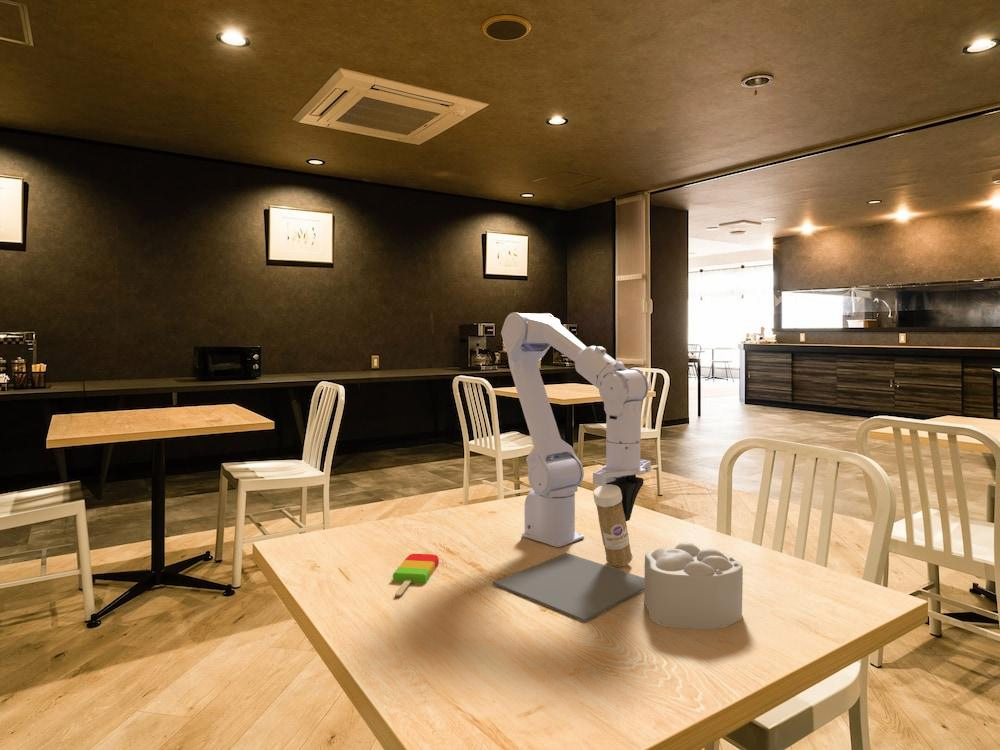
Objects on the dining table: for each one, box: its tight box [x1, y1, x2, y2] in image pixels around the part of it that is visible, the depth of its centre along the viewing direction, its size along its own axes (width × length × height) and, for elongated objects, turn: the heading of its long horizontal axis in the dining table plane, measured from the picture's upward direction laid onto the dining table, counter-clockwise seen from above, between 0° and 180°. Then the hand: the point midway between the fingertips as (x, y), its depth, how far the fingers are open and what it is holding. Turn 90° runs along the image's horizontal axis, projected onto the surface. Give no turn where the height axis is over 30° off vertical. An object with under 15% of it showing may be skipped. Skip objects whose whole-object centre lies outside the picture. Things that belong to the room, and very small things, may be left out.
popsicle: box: [392, 553, 440, 597], centre depth 99 cm, size 6×15×2 cm, turn 171°
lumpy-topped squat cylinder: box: [643, 541, 744, 630], centre depth 87 cm, size 10×13×9 cm
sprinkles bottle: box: [593, 484, 633, 567], centre depth 103 cm, size 5×5×14 cm
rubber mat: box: [492, 552, 645, 623], centre depth 96 cm, size 18×18×1 cm
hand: (622, 519), depth 105 cm, fingers closed
